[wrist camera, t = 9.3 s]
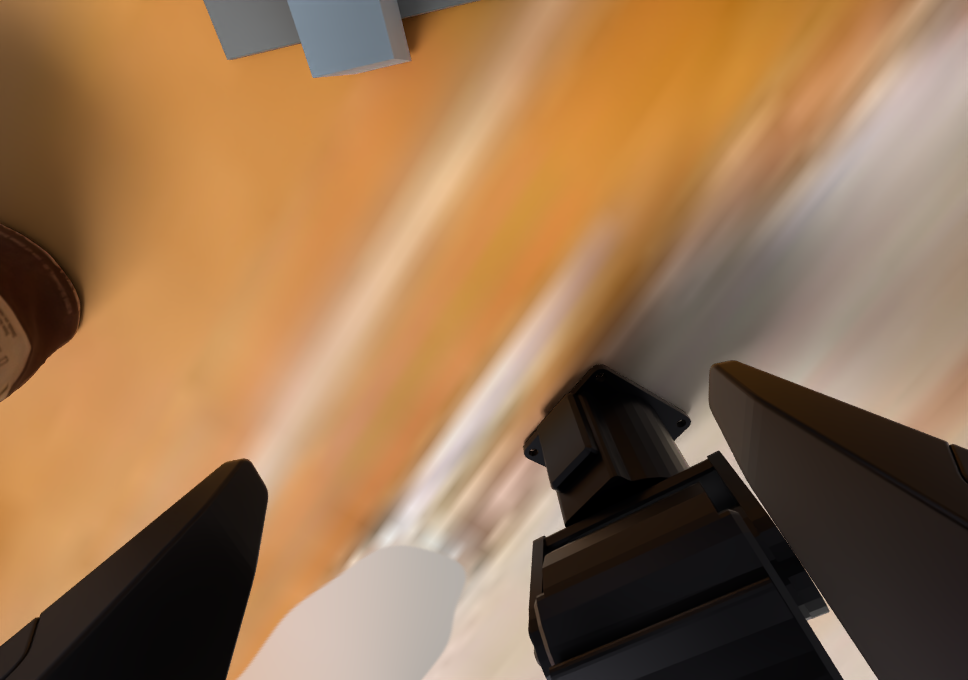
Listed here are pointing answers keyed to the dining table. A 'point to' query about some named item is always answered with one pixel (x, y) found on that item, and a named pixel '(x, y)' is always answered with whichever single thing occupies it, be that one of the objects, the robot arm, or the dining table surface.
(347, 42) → the pale blue slat
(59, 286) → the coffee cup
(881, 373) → the dining table surface
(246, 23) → the slotted base
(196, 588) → the robot arm
